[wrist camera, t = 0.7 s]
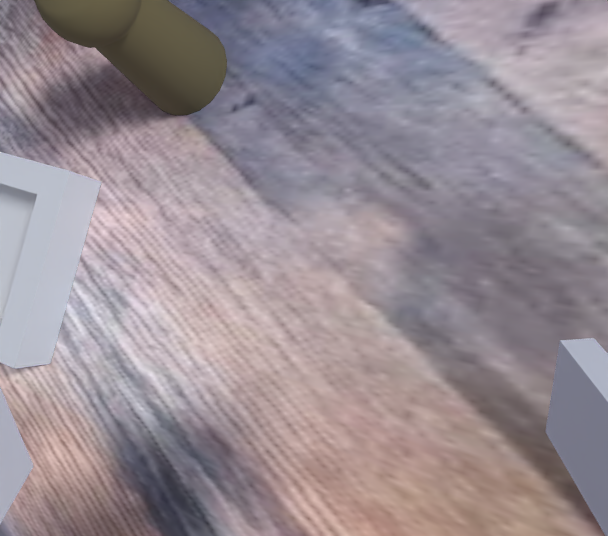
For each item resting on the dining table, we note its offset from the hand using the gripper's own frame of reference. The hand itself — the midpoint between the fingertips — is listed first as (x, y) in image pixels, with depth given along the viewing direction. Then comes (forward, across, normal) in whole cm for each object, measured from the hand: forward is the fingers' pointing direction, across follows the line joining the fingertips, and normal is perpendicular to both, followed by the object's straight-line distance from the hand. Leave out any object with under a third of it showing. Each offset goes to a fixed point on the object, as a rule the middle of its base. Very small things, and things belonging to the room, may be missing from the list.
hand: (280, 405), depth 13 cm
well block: (+25, -21, -5) cm, 33 cm away
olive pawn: (+27, -7, +5) cm, 28 cm away
